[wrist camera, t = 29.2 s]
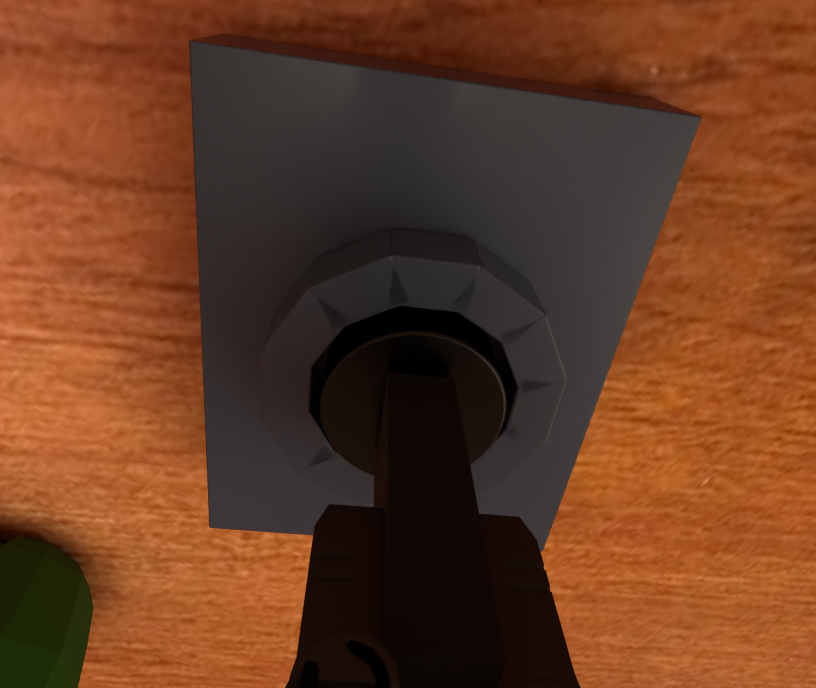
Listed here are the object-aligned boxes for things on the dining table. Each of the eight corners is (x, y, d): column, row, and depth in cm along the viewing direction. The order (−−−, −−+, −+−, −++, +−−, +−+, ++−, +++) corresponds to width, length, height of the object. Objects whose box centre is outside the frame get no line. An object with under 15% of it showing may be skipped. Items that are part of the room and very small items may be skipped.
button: (333, 282, 14) (326, 321, 13) (510, 301, 15) (526, 342, 13) (322, 425, 16) (313, 476, 15) (475, 438, 17) (486, 490, 15)
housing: (220, 33, 14) (158, 46, 10) (654, 98, 15) (745, 132, 11) (228, 470, 21) (193, 576, 17) (526, 494, 22) (556, 599, 18)
